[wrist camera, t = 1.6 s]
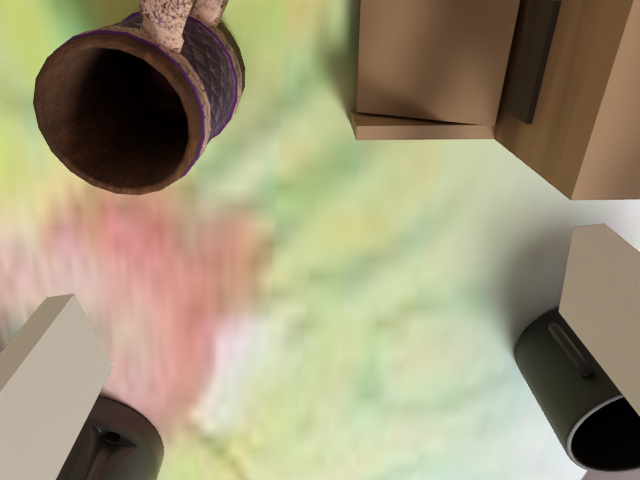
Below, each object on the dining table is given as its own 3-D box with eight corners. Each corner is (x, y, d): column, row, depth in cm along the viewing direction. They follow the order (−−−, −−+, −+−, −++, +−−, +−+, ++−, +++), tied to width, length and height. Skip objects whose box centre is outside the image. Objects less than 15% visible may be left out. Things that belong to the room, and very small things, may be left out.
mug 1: (212, 150, 29) (161, 241, 18) (108, 86, 27) (-17, 149, 16) (298, 5, 25) (294, 18, 14) (184, -84, 23) (82, -143, 12)
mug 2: (583, 260, 34) (666, 342, 26) (640, 345, 39) (724, 435, 31) (478, 323, 37) (525, 413, 29) (543, 395, 42) (598, 489, 34)
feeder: (350, 123, 28) (377, 202, 18) (356, -44, 24) (396, -67, 13) (534, 121, 29) (665, 198, 18) (574, -43, 24) (780, -66, 14)
